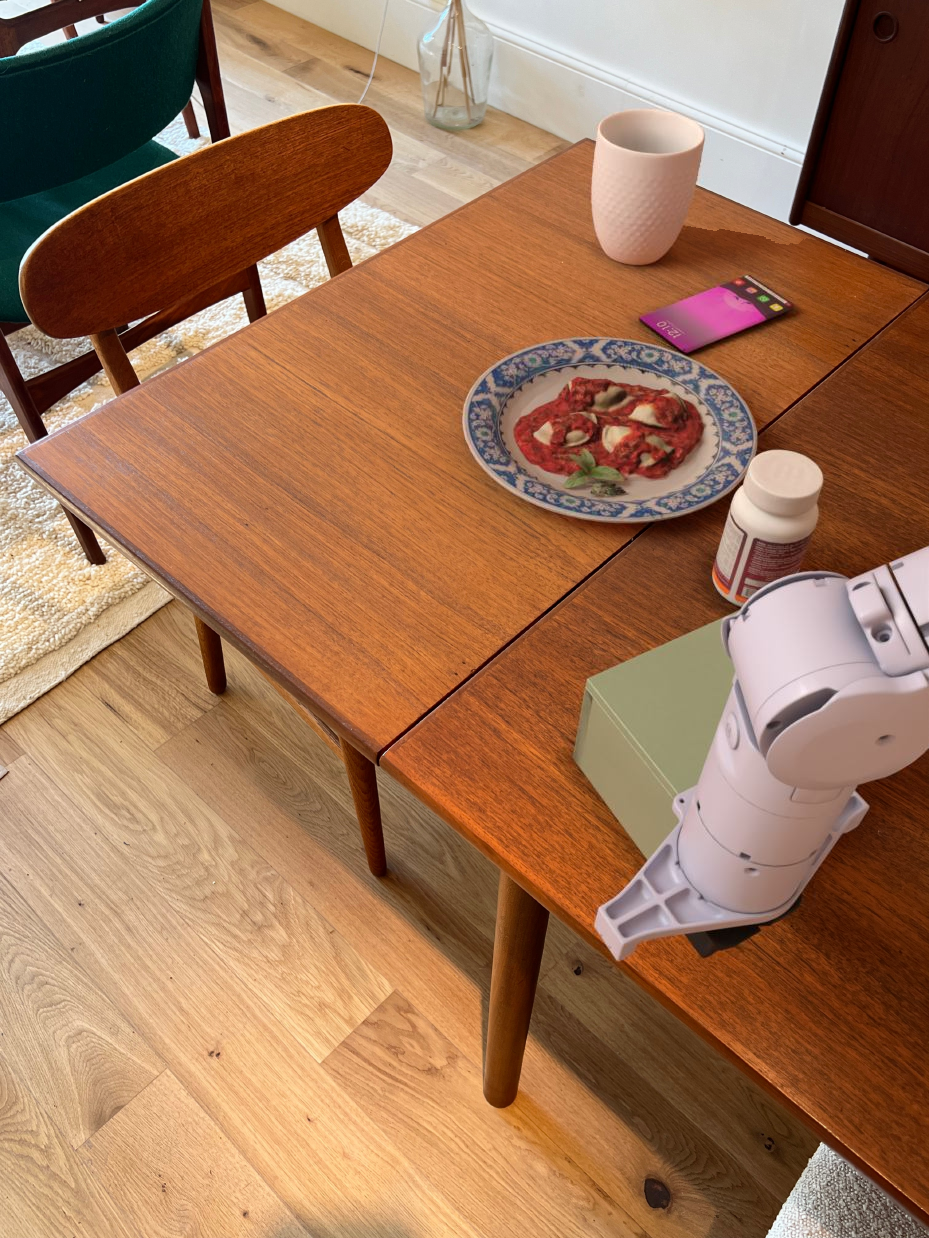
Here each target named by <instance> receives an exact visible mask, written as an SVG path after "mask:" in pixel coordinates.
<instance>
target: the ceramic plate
mask: <svg viewBox="0 0 929 1238" xmlns="http://www.w3.org/2000/svg"><path fill="white" fill-rule="evenodd" d="M749 407H750V406H749V405H748V404H747V402H746V401H745V399H744V398H743V397H742V395H740V393H739V392H738V391H737V390H736V389H735V388H734V386H732V384H731V383H729V381H727V380H726V379H725V378H724V377H722V376H721V375H720V374H719V373H717V372H715V371H714V370H712V369H711V368H710V367H708V366H706V365H705V364H703V363H702V362H700V361H698V360H696V359H693V358H691V357H689V356H686V354H682V353H680V352H679V351H675V350H673V349H670V348H666V347H663V346H661V345H658V344H657V345H656V344H652V343H649V342H648V343H647V342H644V341H639V340H635V339H627V338H617V337H610V336H577V337H576V336H575V337H569V338H568V337H567V338H562V339H555V340H548V341H545V342H541V343H538V344H537V343H536V344H533V345H531V346H527V347H525V348H522V349H520V350H517V351H514V352H513V353H510V354H509V355H507V356H505V357H503V358H502V359H499V360H498V361H497V362H496V363H494V364H493V365H492V366H490V367H489V368H488V369H486V370H485V371H484V372H483V373H482V374H481V375H480V376H479V377H478V378H477V379H476V381H475V382H474V384H473V385H472V386H471V388H470V389H469V392H468V393H467V396H466V398H465V401H464V404H463V407H462V408H463V410H462V419H461V421H462V422H461V423H462V430H463V435H464V439H465V442H466V444H467V446H468V448H469V451H470V453H471V455H472V456H473V458H474V459H475V460H476V462H477V463H478V465H479V466H480V468H481V469H482V470H483V471H484V472H486V474H487V475H488V476H489V477H490V478H491V479H492V480H494V481H495V482H496V483H497V484H499V485H500V486H501V487H503V488H504V489H506V490H507V491H509V492H510V493H512V495H515V496H517V497H518V498H521V499H522V500H524V501H525V502H528V503H530V504H532V505H535V506H537V507H539V508H542V509H545V510H547V511H550V512H552V513H556V514H560V515H563V516H567V517H571V518H575V519H579V520H585V521H592V522H597V523H598V522H601V523H610V524H612V523H613V524H639V523H653V522H660V521H664V520H670V519H675V518H679V517H682V516H686V515H688V514H692V513H694V512H697V511H699V510H702V509H705V508H706V507H708V506H710V505H712V504H714V503H717V502H718V501H719V500H721V499H722V498H724V497H725V496H727V495H728V494H730V493H731V492H732V491H733V490H734V489H735V488H736V487H737V486H738V485H739V484H740V483H741V482H742V481H743V480H744V479H745V476H746V474H747V471H748V468H749V465H750V463H751V461H752V460H753V458H754V457H756V455H757V449H758V430H757V425H756V422H755V418H754V416H753V413H752V412H751V410H750V408H749Z"/></svg>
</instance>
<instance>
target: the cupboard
mask: <svg viewBox="0 0 929 1238" xmlns="http://www.w3.org/2000/svg"><path fill="white" fill-rule="evenodd" d="M740 610H741V609H739V610H737V611H735V612H732V613H730V614H728V615H725V616H723V617H721V618H719V619H716V620H715V621H714V620H713V621H712V622H709V623H707V624H705V625H704V626H701V627H699V628H696V629H694V630H692V631H689V632H688V633H686V634H683V635H681V636H679V637H677V638H674V639H672V640H670V641H668V642H666V643H663V644H661V645H659V646H656V647H655V648H652V649H650V650H648V651H645V652H643V653H641V654H639V655H637V656H634V657H632V658H630V659H628V660H626V661H623V662H621V663H618V664H616V665H614V666H612V667H610V668H607V669H605V670H603V671H601V672H599V673H596V674H594V675H592V676H590V677H587V678H586V681H585V687H584V690H583V691H584V692H583V697H582V702H581V703H582V704H581V709H580V714H579V719H578V720H579V721H578V727H577V732H576V737H575V744H574V748H573V755H572V759H573V760H574V762H575V763H576V765H577V766H578V767H579V769H580V770H581V772H582V773H583V774H584V776H585V777H586V778H587V780H588V781H589V783H590V784H591V785H592V787H593V788H594V790H595V791H596V793H597V794H598V795H599V796H600V797H601V799H602V800H603V801H604V803H605V805H606V806H607V807H608V808H609V810H610V812H611V813H612V814H613V815H614V817H615V818H616V819H617V821H618V822H619V824H620V825H621V827H622V828H623V829H624V830H625V832H626V833H627V834H628V836H629V837H630V839H631V840H632V841H633V843H634V844H635V846H636V847H637V848H638V850H639V851H640V852H641V854H642V856H643V857H644V858H645V859H646V861H648V860H649V859H650V857H651V856H652V855H653V854H654V853H655V851H656V850H657V849H658V848H659V847H660V845H661V844H662V843H663V842H664V840H665V839H666V838H667V837H668V836H669V834H670V833H671V832H672V831H673V830H674V828H675V827H676V826H677V825H678V824H679V819H678V817H677V816H676V815H675V813H674V812H673V810H672V804H673V801H674V798H675V797H676V796H677V795H678V794H680V793H682V792H684V791H686V790H688V789H690V788H692V787H694V786H696V785H697V784H698V781H699V778H700V775H701V773H702V770H703V767H704V764H705V761H706V759H707V756H708V753H709V750H710V747H711V745H712V742H713V739H714V736H715V734H716V731H717V728H718V725H719V722H720V720H721V717H722V714H723V711H724V709H725V706H726V703H727V700H728V698H729V695H730V692H731V689H732V687H733V683H732V680H733V677H734V674H735V672H736V671H735V668H734V664H733V661H732V660H731V659H730V658H729V657H728V655H727V653H726V651H725V648H724V645H723V642H722V639H721V623H722V620H723V619H724V618H725V617H727V616H731V615H735V614H737V613H738V612H739V611H740Z"/></svg>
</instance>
